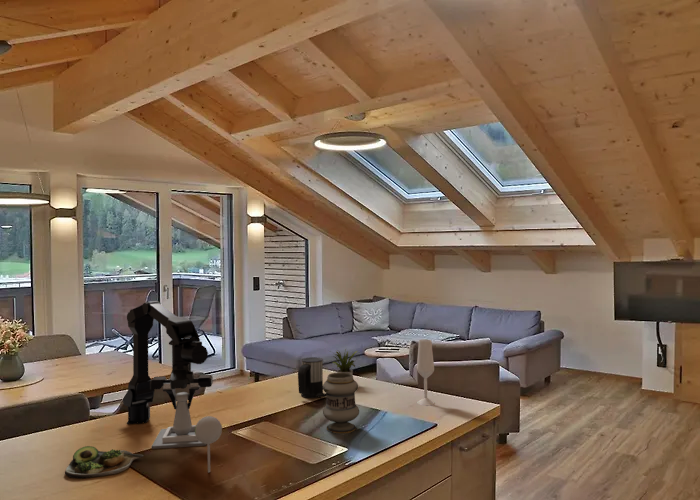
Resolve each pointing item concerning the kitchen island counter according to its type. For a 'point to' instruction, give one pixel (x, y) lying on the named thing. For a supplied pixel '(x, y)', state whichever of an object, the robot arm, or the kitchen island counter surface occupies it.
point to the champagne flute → (425, 366)
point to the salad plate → (98, 462)
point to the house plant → (344, 362)
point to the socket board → (176, 439)
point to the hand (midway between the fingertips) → (182, 408)
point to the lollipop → (208, 432)
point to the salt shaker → (182, 415)
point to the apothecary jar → (340, 402)
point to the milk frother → (311, 378)
